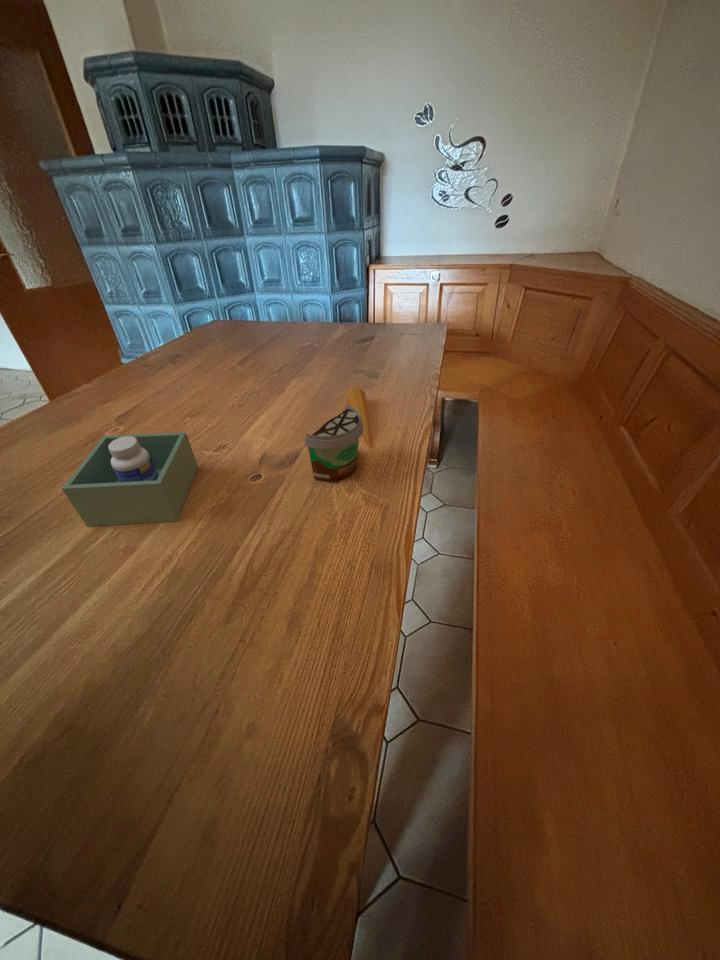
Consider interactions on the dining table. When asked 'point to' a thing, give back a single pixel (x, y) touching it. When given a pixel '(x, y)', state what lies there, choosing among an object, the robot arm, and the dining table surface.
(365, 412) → the carrot
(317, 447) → the food container
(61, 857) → the dining table surface
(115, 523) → the tub
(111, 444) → the pill bottle
